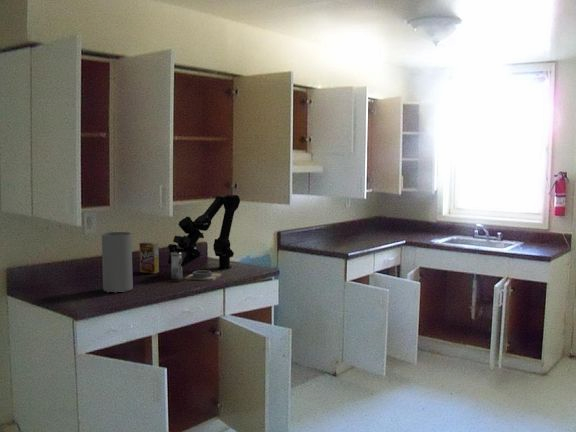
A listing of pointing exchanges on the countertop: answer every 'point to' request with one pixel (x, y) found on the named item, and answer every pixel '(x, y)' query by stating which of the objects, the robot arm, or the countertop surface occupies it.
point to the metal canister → (176, 265)
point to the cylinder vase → (117, 261)
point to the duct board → (213, 277)
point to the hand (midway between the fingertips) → (174, 264)
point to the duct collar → (202, 274)
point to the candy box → (149, 257)
